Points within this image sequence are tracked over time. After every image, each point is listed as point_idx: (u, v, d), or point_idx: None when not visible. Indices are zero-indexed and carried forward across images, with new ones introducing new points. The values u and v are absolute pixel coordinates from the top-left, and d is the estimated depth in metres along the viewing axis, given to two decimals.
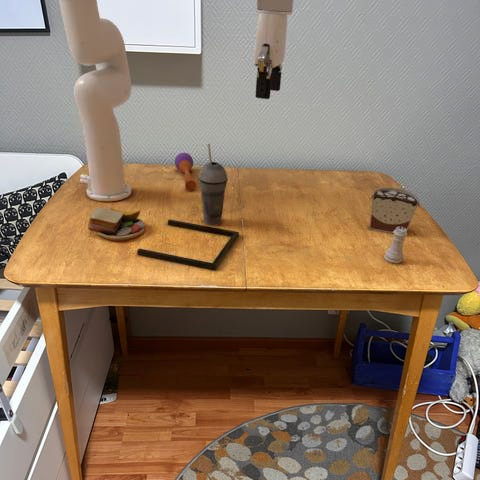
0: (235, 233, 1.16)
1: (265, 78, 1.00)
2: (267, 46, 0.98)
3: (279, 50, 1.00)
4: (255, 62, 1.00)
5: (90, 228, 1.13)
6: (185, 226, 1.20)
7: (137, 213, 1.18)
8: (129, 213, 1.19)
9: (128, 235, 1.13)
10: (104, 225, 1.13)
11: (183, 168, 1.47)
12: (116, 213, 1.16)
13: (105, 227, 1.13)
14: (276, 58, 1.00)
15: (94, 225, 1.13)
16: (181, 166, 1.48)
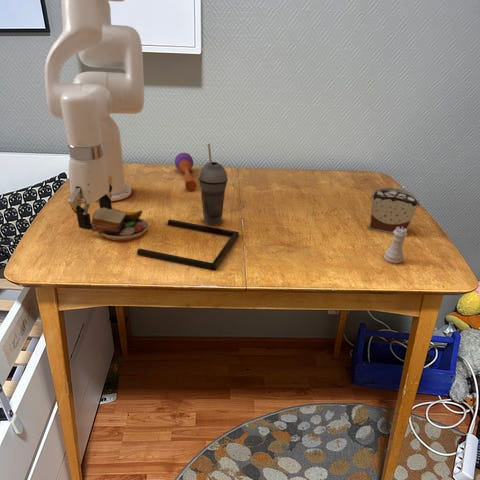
0: (235, 233, 1.16)
1: (82, 214, 1.10)
2: (79, 188, 1.07)
3: (94, 189, 1.09)
4: None
5: (93, 228, 1.12)
6: (185, 226, 1.20)
7: (139, 213, 1.18)
8: (131, 213, 1.19)
9: (131, 235, 1.13)
10: (107, 225, 1.13)
11: (183, 168, 1.47)
12: (118, 213, 1.16)
13: (108, 227, 1.13)
14: (91, 197, 1.09)
15: (97, 225, 1.13)
16: (181, 166, 1.48)
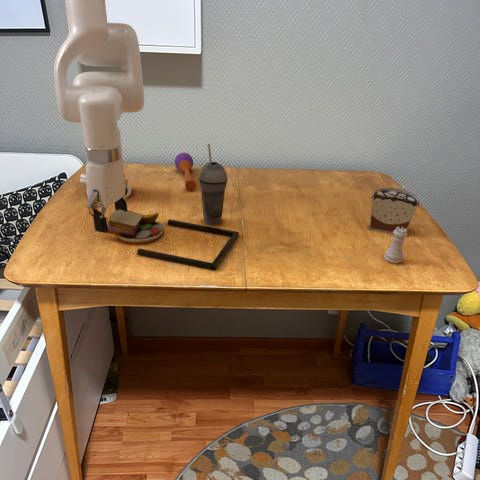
0: (235, 233, 1.16)
1: (99, 217, 1.09)
2: (96, 192, 1.06)
3: (111, 192, 1.08)
4: None
5: (109, 231, 1.12)
6: (185, 226, 1.20)
7: (156, 216, 1.17)
8: (147, 216, 1.18)
9: (147, 238, 1.12)
10: (123, 228, 1.12)
11: (183, 168, 1.47)
12: (134, 215, 1.16)
13: (124, 230, 1.12)
14: (108, 200, 1.08)
15: (113, 228, 1.12)
16: (181, 166, 1.48)
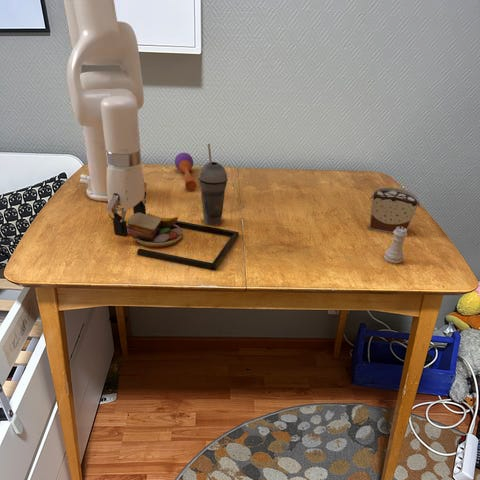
0: (235, 233, 1.16)
1: (119, 221, 1.08)
2: (117, 195, 1.05)
3: (131, 196, 1.07)
4: None
5: (128, 234, 1.11)
6: (185, 226, 1.20)
7: (175, 219, 1.16)
8: (167, 219, 1.17)
9: (165, 242, 1.11)
10: (142, 231, 1.11)
11: (183, 168, 1.47)
12: (154, 218, 1.15)
13: (143, 233, 1.11)
14: (128, 204, 1.07)
15: (132, 231, 1.11)
16: (181, 166, 1.48)
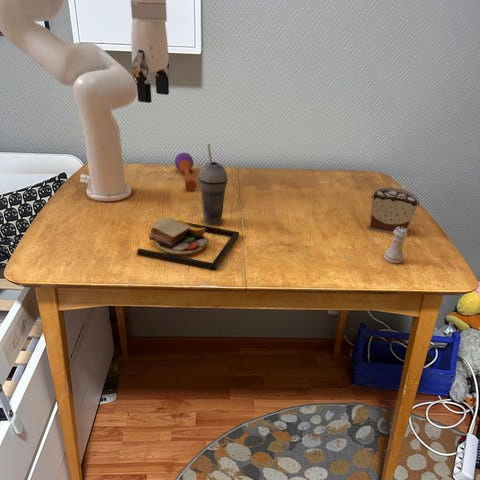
0: (235, 233, 1.16)
1: (143, 83, 1.05)
2: (142, 52, 1.02)
3: (156, 56, 1.04)
4: None
5: (150, 237, 1.10)
6: None
7: (202, 230, 1.12)
8: (195, 229, 1.13)
9: (182, 251, 1.08)
10: (163, 237, 1.10)
11: (183, 168, 1.47)
12: (181, 226, 1.12)
13: (164, 239, 1.10)
14: (153, 63, 1.04)
15: (154, 235, 1.10)
16: (181, 166, 1.48)
